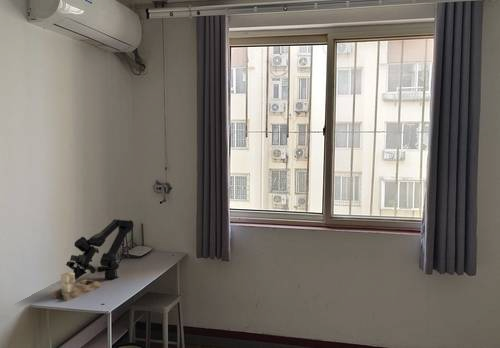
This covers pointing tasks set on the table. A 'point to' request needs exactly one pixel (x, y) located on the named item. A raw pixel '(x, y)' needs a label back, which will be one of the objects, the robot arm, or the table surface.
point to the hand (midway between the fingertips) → (72, 280)
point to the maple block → (68, 282)
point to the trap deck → (76, 290)
